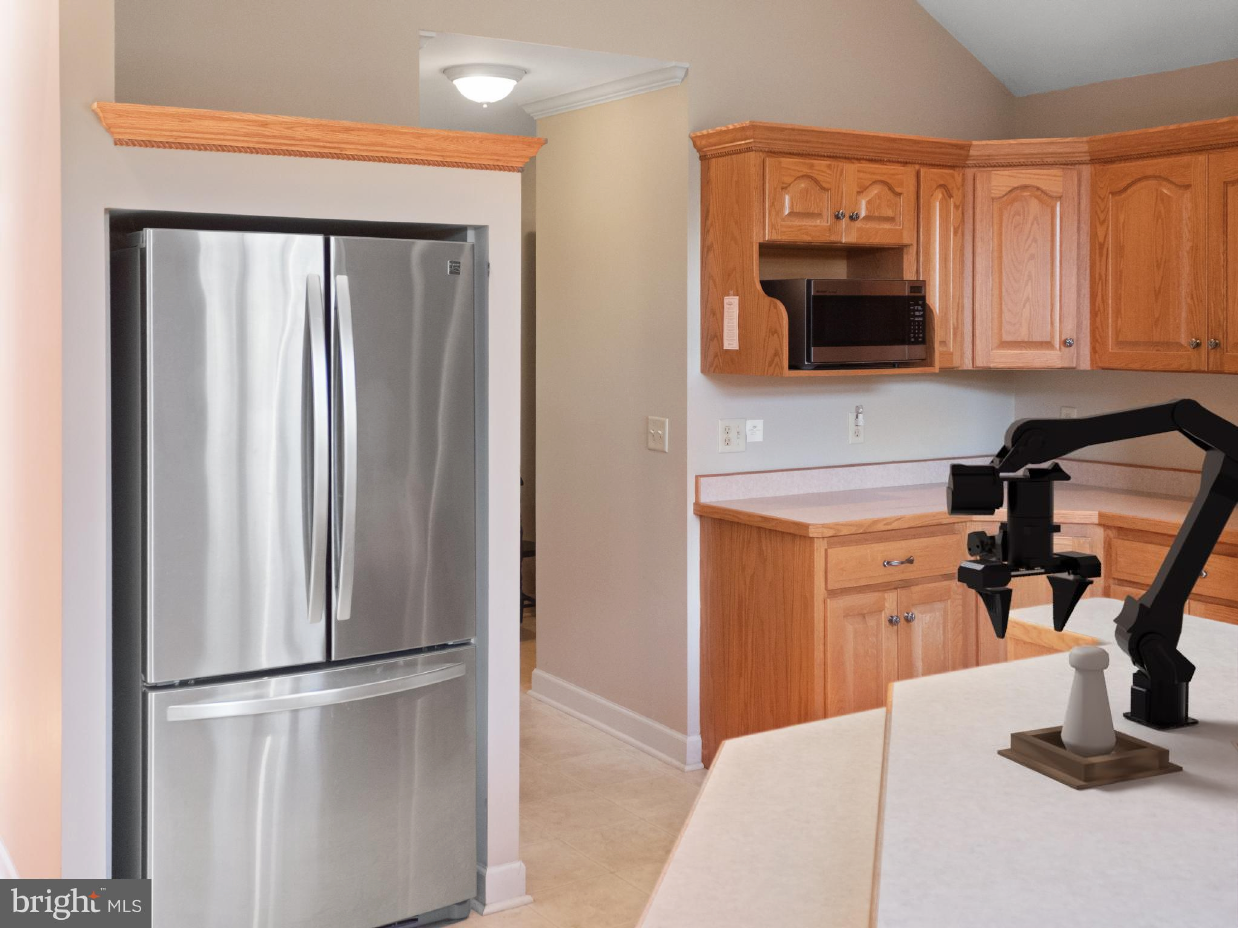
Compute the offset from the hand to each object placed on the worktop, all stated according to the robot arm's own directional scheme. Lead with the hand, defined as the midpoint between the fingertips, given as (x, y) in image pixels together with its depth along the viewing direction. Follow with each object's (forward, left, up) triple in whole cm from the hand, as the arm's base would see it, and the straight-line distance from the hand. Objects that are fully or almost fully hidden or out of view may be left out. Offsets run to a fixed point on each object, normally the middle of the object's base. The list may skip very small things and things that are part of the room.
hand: (1029, 634), depth 149 cm
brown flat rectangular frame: (+6, +16, -11) cm, 21 cm away
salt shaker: (+5, +16, -11) cm, 20 cm away
